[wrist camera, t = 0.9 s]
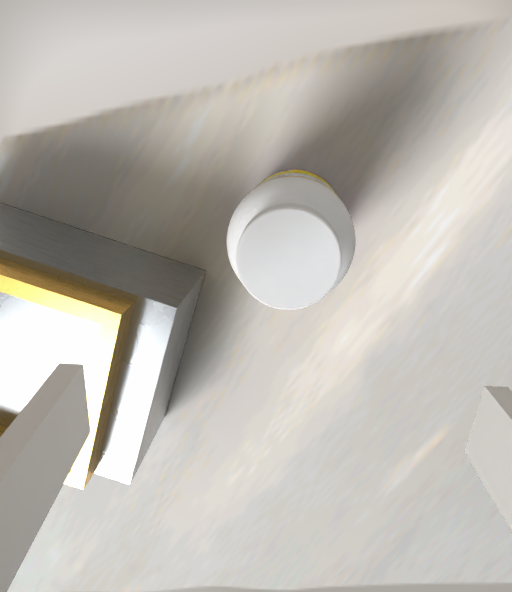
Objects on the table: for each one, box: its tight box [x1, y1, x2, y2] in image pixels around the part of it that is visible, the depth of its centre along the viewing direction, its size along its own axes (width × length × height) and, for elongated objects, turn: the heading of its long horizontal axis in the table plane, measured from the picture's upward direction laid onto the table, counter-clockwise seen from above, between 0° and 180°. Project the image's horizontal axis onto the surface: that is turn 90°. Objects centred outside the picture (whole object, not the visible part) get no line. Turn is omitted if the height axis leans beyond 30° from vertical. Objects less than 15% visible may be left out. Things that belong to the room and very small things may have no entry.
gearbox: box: [0, 203, 206, 490], centre depth 31 cm, size 21×14×10 cm, turn 73°
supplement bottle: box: [227, 169, 355, 310], centre depth 25 cm, size 7×7×13 cm
